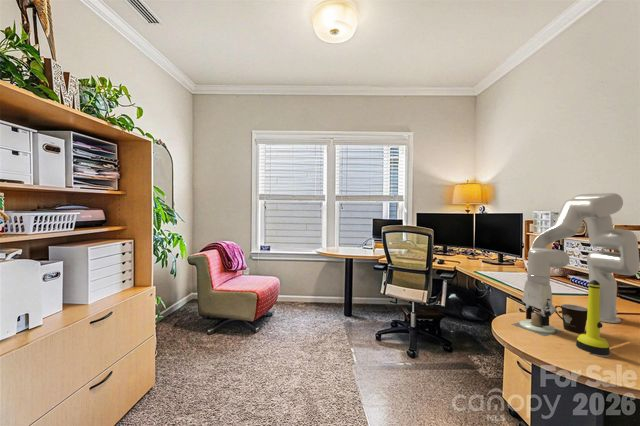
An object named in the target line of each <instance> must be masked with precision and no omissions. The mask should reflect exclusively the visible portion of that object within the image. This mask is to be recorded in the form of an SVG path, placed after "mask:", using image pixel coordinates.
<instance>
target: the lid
mask: <svg viewBox="0 0 640 426" xmlns="http://www.w3.org/2000/svg"><path fill="white" fill-rule="evenodd" d="M541 316H543V315H542V312H538V311H534V312H531V319H523V320H520V321H519V323H520V326H521V327H523V328H525V329H524V330H526V329H528V330H530V331H529V332H531V331H534V332H539V333H547V334H551V333H555V329H556V328H555V327H554V326H553V325H551V324H549V326H541ZM523 328H522V329H523ZM528 330H527V331H528ZM534 332H533V333H534Z"/></svg>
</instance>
